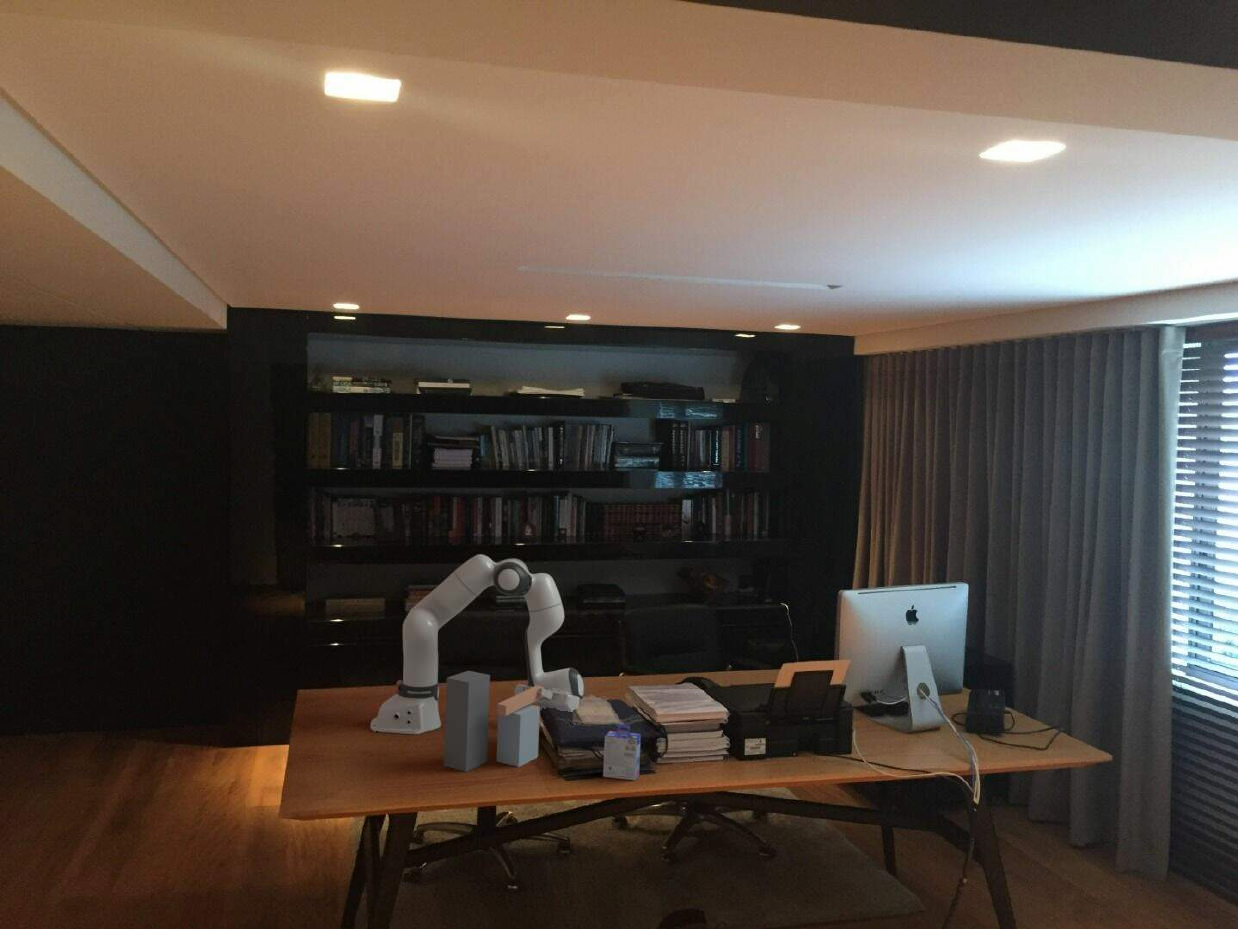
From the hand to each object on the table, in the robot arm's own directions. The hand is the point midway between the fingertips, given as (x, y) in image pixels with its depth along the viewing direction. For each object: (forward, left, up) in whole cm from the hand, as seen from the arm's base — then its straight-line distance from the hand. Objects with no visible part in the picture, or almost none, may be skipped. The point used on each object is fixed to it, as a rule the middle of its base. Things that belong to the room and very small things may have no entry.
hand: (533, 689), depth 301 cm
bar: (-4, -5, -3) cm, 7 cm away
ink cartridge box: (+26, -19, -20) cm, 38 cm away
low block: (-4, -6, -19) cm, 21 cm away
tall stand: (-19, -10, -19) cm, 29 cm away
